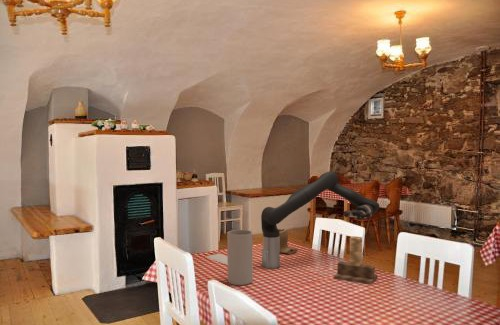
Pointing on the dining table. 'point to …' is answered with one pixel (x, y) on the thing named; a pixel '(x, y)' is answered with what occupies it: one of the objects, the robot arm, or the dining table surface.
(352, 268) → the walnut ridge
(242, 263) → the cylinder vase
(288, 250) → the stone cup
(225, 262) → the baseboard
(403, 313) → the dining table surface
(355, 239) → the tan tall block
